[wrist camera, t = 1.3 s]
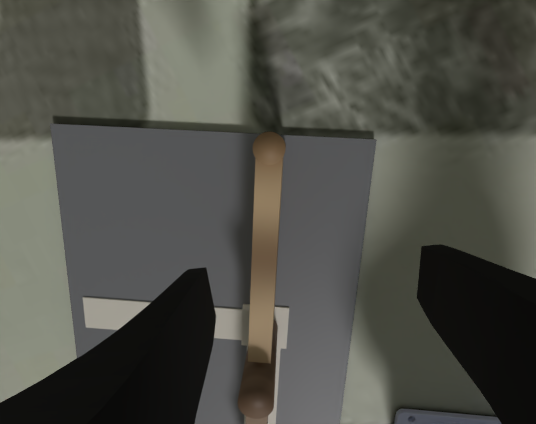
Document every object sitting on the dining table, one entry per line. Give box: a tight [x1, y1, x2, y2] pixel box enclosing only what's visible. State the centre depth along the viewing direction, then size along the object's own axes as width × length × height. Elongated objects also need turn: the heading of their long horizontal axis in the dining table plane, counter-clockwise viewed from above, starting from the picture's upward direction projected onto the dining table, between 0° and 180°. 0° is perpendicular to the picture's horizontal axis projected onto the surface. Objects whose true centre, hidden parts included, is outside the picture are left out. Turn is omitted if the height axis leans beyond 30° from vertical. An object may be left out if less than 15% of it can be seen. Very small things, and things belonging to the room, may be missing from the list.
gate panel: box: [248, 132, 286, 363], centre depth 17 cm, size 12×1×5 cm, turn 177°
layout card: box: [50, 124, 376, 424], centre depth 21 cm, size 20×26×1 cm
